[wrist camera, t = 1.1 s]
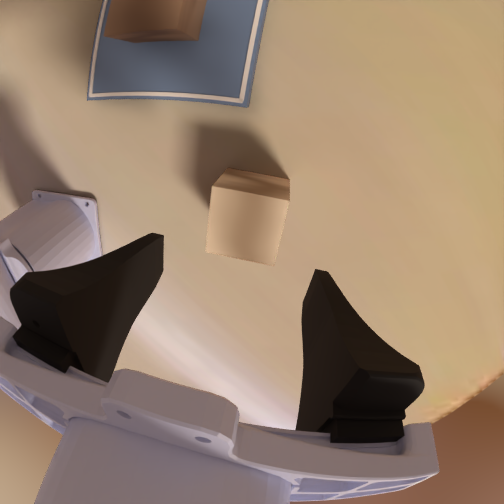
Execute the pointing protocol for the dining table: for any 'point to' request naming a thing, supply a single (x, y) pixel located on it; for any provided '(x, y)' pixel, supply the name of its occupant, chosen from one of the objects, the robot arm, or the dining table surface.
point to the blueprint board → (177, 50)
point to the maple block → (247, 215)
